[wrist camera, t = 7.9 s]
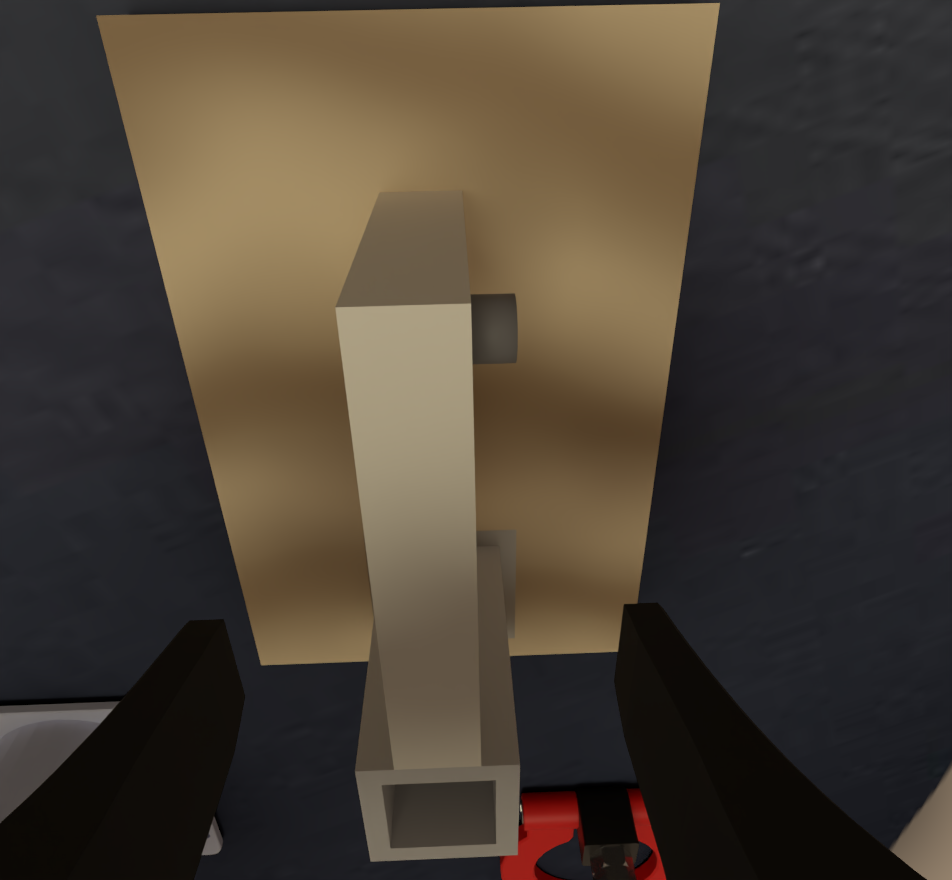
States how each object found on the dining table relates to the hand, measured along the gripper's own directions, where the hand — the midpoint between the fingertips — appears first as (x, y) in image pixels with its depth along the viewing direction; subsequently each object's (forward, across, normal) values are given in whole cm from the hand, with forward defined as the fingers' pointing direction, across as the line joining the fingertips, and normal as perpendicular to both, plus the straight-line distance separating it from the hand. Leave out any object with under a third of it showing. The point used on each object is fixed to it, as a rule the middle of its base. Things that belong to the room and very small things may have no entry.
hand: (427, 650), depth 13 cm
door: (+7, 0, 0) cm, 7 cm away
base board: (+8, 0, -1) cm, 8 cm away
